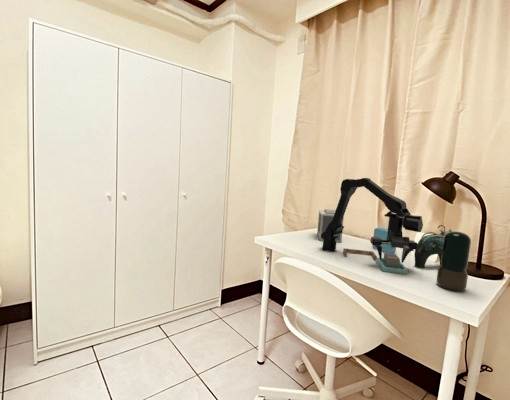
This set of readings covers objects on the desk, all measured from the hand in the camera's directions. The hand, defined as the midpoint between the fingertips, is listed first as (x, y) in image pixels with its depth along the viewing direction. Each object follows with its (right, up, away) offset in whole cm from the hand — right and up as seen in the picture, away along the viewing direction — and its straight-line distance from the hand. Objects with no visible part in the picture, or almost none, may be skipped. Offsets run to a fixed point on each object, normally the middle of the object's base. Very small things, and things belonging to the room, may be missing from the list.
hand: (391, 261), depth 129 cm
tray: (0, -3, 0) cm, 3 cm away
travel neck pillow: (+22, -4, +5) cm, 23 cm away
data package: (+9, -1, +28) cm, 29 cm away
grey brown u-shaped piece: (-9, -1, +15) cm, 18 cm away
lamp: (+14, -6, -19) cm, 24 cm away
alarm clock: (-16, +3, +50) cm, 52 cm away
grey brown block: (0, -3, 0) cm, 2 cm away
